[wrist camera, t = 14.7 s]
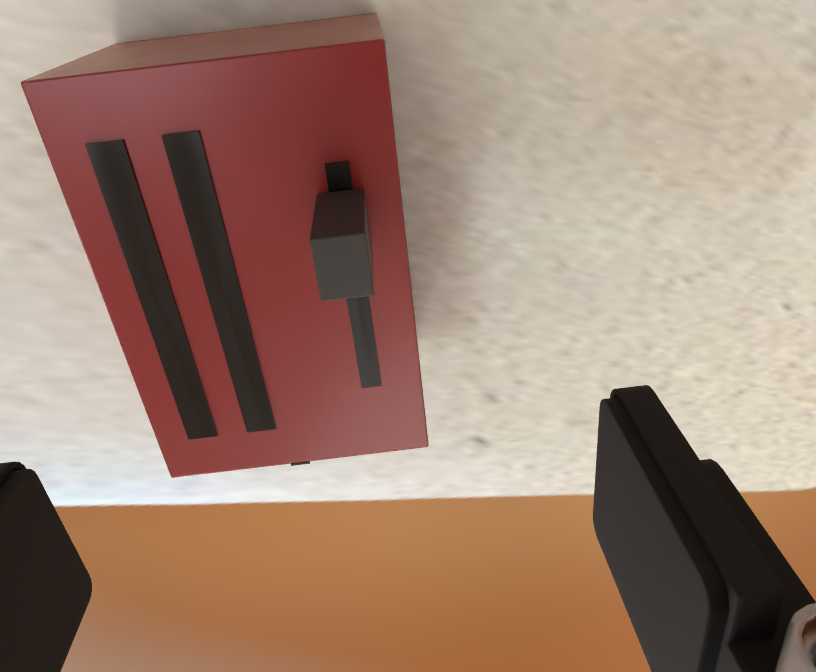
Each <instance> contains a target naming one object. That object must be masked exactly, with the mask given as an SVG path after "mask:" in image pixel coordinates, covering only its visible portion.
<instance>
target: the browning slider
mask: <svg viewBox="0 0 816 672" xmlns="http://www.w3.org/2000/svg"><path fill="white" fill-rule="evenodd" d="M309 242H310V247H311V252H312V258H313V263H314V268H315V273H316V279H317V284H318V289H319V294H320V300H321V301H330V300H339V299H347V298H355V297H364V296H372V295H374V276H373V256H372V240H371V233H370V225H369V218H368V211H367V204H366V197H365V190H364V189H363V188H361V189H353V190H344V191H336V192H328V193H319V194H317V196H316V202H315V208H314V214H313V220H312V227H311V233H310V239H309Z"/></svg>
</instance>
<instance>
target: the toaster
mask: <svg viewBox="0 0 816 672" xmlns="http://www.w3.org/2000/svg"><path fill="white" fill-rule="evenodd" d="M21 85H22V88H23V90H24V93H25V96H26V98H27V101H28V103H29V106H30V109H31V111H32V114H33V116H34V119H35V122H36V124H37V127H38V130H39V132H40V135H41V137H42V140H43V143H44V145H45V148H46V150H47V153H48V156H49V158H50V161H51V164H52V166H53V169H54V171H55V174H56V177H57V179H58V182H59V184H60V187H61V190H62V192H63V195H64V198H65V200H66V203H67V205H68V208H69V211H70V213H71V216H72V218H73V221H74V224H75V226H76V229H77V232H78V234H79V237H80V239H81V242H82V245H83V247H84V250H85V253H86V255H87V258H88V260H89V263H90V266H91V268H92V271H93V273H94V276H95V279H96V281H97V284H98V287H99V289H100V292H101V294H102V297H103V300H104V302H105V305H106V307H107V310H108V313H109V315H110V318H111V321H112V323H113V326H114V328H115V331H116V334H117V336H118V339H119V341H120V344H121V347H122V349H123V352H124V355H125V357H126V360H127V362H128V365H129V368H130V370H131V373H132V376H133V378H134V381H135V383H136V386H137V389H138V391H139V394H140V396H141V399H142V402H143V404H144V407H145V410H146V412H147V415H148V417H149V420H150V423H151V425H152V428H153V430H154V433H155V436H156V438H157V441H158V444H159V446H160V449H161V451H162V454H163V457H164V459H165V462H166V464H167V467H168V470H169V472H170V475H171V477H172V478H175V477H183V476H191V475H199V474H208V473H216V472H224V471H232V470H240V469H249V468H257V467H265V466H273V465H282V464H290V463H291V466H293V465H301V464H310V461H315V460H323V459H331V458H339V457H348V456H356V455H364V454H372V453H381V452H389V451H397V450H405V449H413V448H422V447H428V435H427V426H426V417H425V408H424V399H423V389H422V380H421V371H420V362H419V353H418V343H417V334H416V325H415V316H414V307H413V298H412V288H411V279H410V270H409V261H408V252H407V242H406V233H405V224H404V215H403V206H402V196H401V187H400V178H399V169H398V160H397V151H396V141H395V132H394V123H393V114H392V105H391V95H390V86H389V77H388V68H387V59H386V49H385V41H384V37H383V34H382V30H381V27H380V24H379V20H378V17H377V14H376V13H373V14H364V15H356V16H347V17H339V18H330V19H322V20H313V21H305V22H296V23H288V24H279V25H271V26H262V27H254V28H245V29H237V30H228V31H220V32H211V33H202V34H194V35H185V36H177V37H168V38H160V39H151V40H143V41H134V42H126V43H117V44H114V45H111V46H109V47H106V48H104V49H101V50H99V51H96V52H94V53H91V54H89V55H86V56H84V57H81V58H79V59H76V60H74V61H71V62H69V63H66V64H64V65H61V66H59V67H56V68H54V69H51V70H49V71H46V72H44V73H41V74H39V75H36V76H34V77H32V78H29V79H27V80H24V81H22V82H21ZM361 188H363V189H364V190H365V197H366V204H367V211H368V218H369V225H370V233H371V240H372V256H373V276H374V295H372V296H364V297H355V298H347V299H339V300H330V301H321V300H320V294H319V289H318V284H317V279H316V273H315V268H314V263H313V258H312V252H311V247H310V242H309V239H310V233H311V227H312V220H313V214H314V208H315V202H316V196H317V194H319V193H328V192H336V191H344V190H353V189H361Z"/></svg>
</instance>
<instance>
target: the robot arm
mask: <svg viewBox="0 0 816 672" xmlns="http://www.w3.org/2000/svg"><path fill="white" fill-rule="evenodd" d="M593 522H594V528H595V532H596V535H597V538H598V541H599V543H600V546H601V548H602V551H603V553H604V555H605V558H606V561H607V563H608V565H609V568H610V570H611V573H612V575H613V578H614V580H615V583H616V585H617V588H618V590H619V593H620V595H621V597H622V600H623V602H624V605H625V607H626V610H627V612H628V615H629V617H630V619H631V622H632V625H633V627H634V630H635V632H636V634H637V637H638V639H639V642H640V644H641V647H642V649H643V652H644V654H645V657H646V659H647V662H648V664H649V666H650V669H651V671H652V672H816V602H815V600H814V599H813V597H812V596H811V595H810V593H809V592H808V590H807V589H806V588H805V586H804V585H803V583H802V582H801V581H800V579H799V577H798V576H797V575H796V573H795V572H794V570H793V569H792V568H791V566H790V565H789V563H788V562H787V560H786V559H785V557H784V556H783V555H782V553H781V552H780V550H779V549H778V548H777V546H776V545H775V543H774V542H773V540H772V539H771V537H770V536H769V535H768V533H767V532H766V530H765V529H764V527H763V526H762V525H761V523H760V522H759V520H758V519H757V517H756V516H755V515H754V513H753V512H752V510H751V509H750V507H749V506H748V505H747V503H746V502H745V500H744V499H743V497H742V496H741V495H740V493H739V492H738V490H737V489H736V487H735V486H734V485H733V483H732V482H731V480H730V479H729V477H728V476H727V475H726V473H725V472H724V470H723V469H722V468H721V467H720V466H719V464H718V463H717V462H715V461H713V460H711V459H707V460H699V458H698V457H697V455H696V454H695V452H694V451H693V449H692V448H691V446H690V445H689V443H688V442H687V440H686V439H685V437H684V436H683V434H682V433H681V431H680V430H679V428H678V427H677V425H676V424H675V422H674V421H673V419H672V418H671V416H670V415H669V413H668V412H667V410H666V409H665V407H664V406H663V404H662V403H661V401H660V400H659V398H658V397H657V395H656V394H655V392H654V391H653V389H652V388H651V387H650V386H648V385H644V386H635V387H627V388H619V389H614V390H612V392H611V395H610V399H603V400H601V402H600V411H599V427H598V443H597V459H596V475H595V491H594V507H593ZM91 592H92V583H91V578H90V576H89V574H88V571H87V570H86V568H85V566H84V564H83V562H82V560H81V558H80V556H79V554H78V552H77V550H76V548H75V547H74V545H73V543H72V541H71V539H70V537H69V535H68V533H67V531H66V529H65V527H64V525H63V524H62V522H61V520H60V518H59V516H58V514H57V512H56V510H55V508H54V506H53V504H52V502H51V501H50V499H49V497H48V495H47V493H46V491H45V489H44V487H43V485H42V483H41V481H40V479H39V478H38V476H37V474H36V473H35V471H33V470H32V469H26V468H25V466H24V465H23V464H21V463H20V462H8V463H0V672H61V669H62V667H63V664H64V661H65V659H66V657H67V654H68V652H69V650H70V647H71V644H72V642H73V640H74V637H75V635H76V632H77V630H78V627H79V625H80V623H81V620H82V618H83V615H84V613H85V610H86V608H87V606H88V603H89V601H90V597H91Z"/></svg>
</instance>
